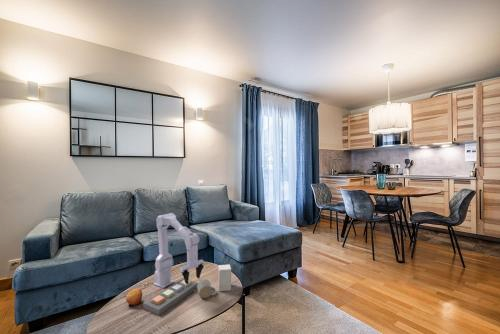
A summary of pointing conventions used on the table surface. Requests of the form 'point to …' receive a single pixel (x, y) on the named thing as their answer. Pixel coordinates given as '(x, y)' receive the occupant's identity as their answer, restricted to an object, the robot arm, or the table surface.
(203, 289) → the ceramic mug
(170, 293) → the key sage
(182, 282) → the key ivory
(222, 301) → the table surface
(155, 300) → the key terracotta
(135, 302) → the fruit
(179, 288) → the key bluegrey
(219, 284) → the supplement box
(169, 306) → the keypad
